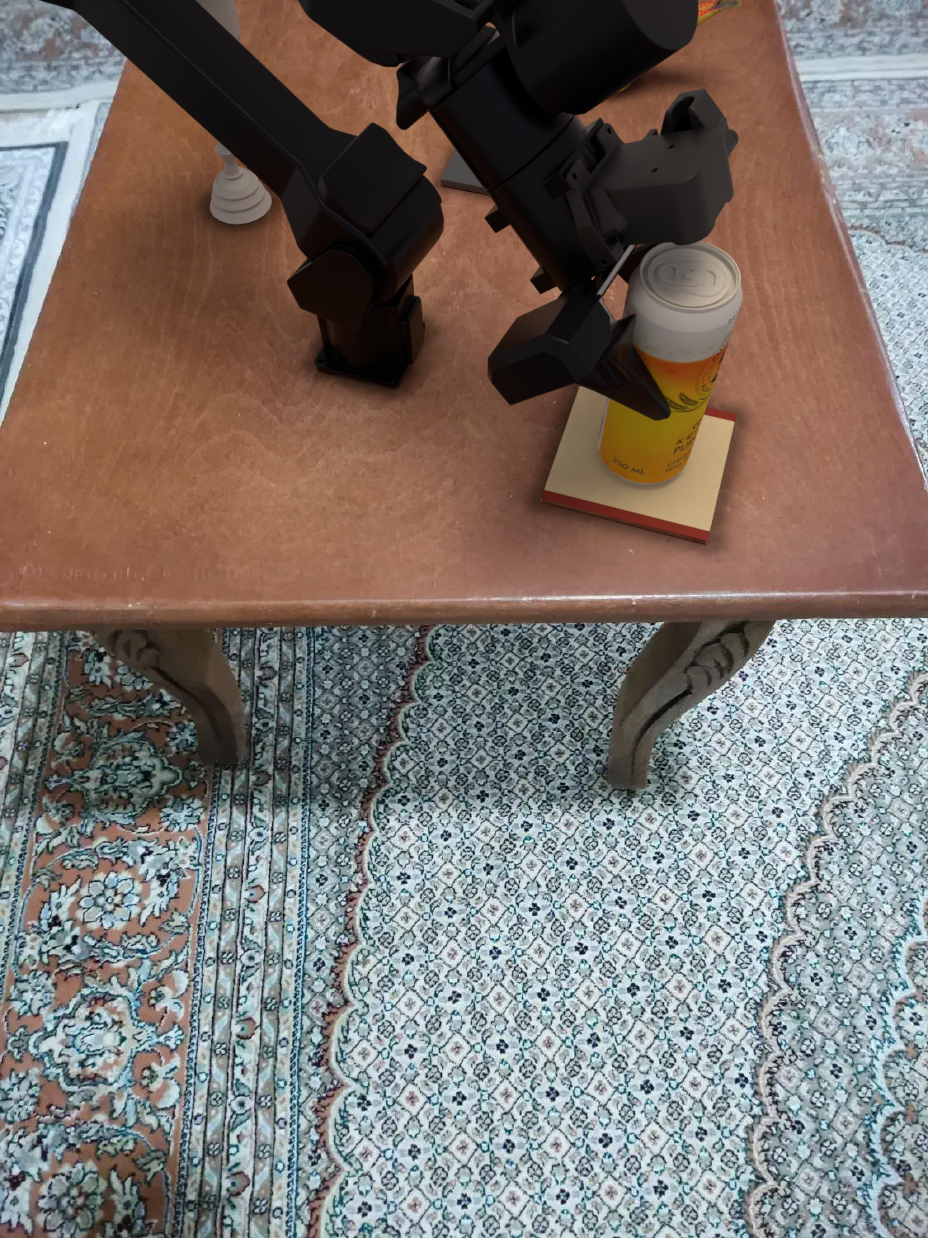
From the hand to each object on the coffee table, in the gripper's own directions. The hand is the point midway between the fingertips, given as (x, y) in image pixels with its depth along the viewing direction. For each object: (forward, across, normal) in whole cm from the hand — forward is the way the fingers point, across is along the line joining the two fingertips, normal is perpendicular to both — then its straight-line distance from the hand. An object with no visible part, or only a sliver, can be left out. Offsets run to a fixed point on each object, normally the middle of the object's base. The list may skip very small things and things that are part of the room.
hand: (684, 381), depth 52 cm
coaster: (-11, +24, +22) cm, 35 cm away
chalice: (-23, +9, +35) cm, 43 cm away
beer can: (+5, 0, +7) cm, 8 cm away
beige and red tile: (+5, 0, +7) cm, 8 cm away
